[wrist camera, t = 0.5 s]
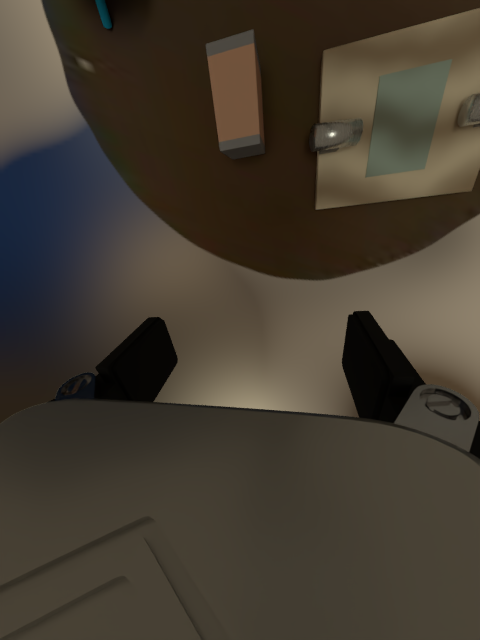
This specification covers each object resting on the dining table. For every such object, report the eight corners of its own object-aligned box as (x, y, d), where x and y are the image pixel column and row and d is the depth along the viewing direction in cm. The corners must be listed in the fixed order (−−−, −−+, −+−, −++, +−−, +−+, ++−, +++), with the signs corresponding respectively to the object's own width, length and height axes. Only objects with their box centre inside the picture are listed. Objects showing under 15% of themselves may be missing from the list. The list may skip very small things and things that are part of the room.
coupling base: (321, 58, 24) (326, 40, 21) (526, 3, 20) (565, -28, 17) (314, 209, 31) (317, 210, 28) (462, 190, 27) (483, 190, 24)
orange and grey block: (223, 78, 26) (205, 44, 20) (260, 68, 25) (253, 29, 19) (232, 159, 30) (220, 151, 24) (265, 153, 29) (260, 143, 23)
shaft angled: (308, 130, 26) (312, 121, 22) (358, 120, 24) (369, 109, 21) (307, 155, 27) (310, 150, 24) (355, 146, 26) (365, 140, 22)
